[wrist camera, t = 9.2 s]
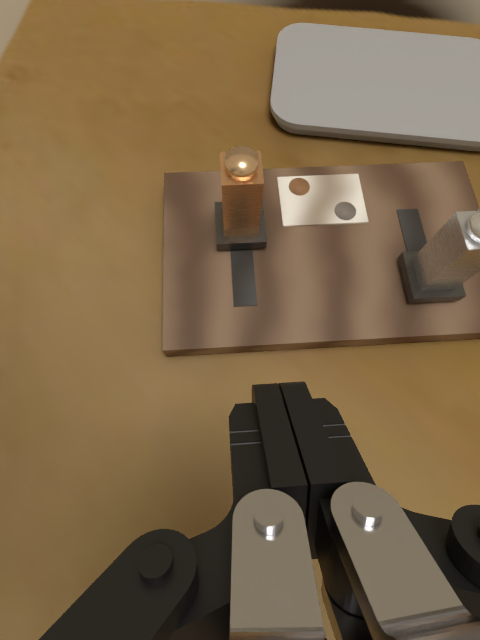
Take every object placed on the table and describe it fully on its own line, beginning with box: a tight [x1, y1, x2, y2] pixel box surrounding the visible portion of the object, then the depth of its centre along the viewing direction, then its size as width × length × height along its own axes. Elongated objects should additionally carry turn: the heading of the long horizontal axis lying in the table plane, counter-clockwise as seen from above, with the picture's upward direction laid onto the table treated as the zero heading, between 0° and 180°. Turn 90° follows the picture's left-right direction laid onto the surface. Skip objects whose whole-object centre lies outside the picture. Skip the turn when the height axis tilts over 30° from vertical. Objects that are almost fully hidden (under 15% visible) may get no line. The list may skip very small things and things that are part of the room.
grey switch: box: [398, 209, 480, 304], centre depth 28 cm, size 4×4×8 cm
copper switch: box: [214, 146, 267, 250], centre depth 29 cm, size 4×4×8 cm
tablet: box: [270, 23, 480, 151], centre depth 42 cm, size 16×26×2 cm, turn 84°
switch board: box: [163, 161, 480, 357], centre depth 34 cm, size 30×18×2 cm, turn 94°
